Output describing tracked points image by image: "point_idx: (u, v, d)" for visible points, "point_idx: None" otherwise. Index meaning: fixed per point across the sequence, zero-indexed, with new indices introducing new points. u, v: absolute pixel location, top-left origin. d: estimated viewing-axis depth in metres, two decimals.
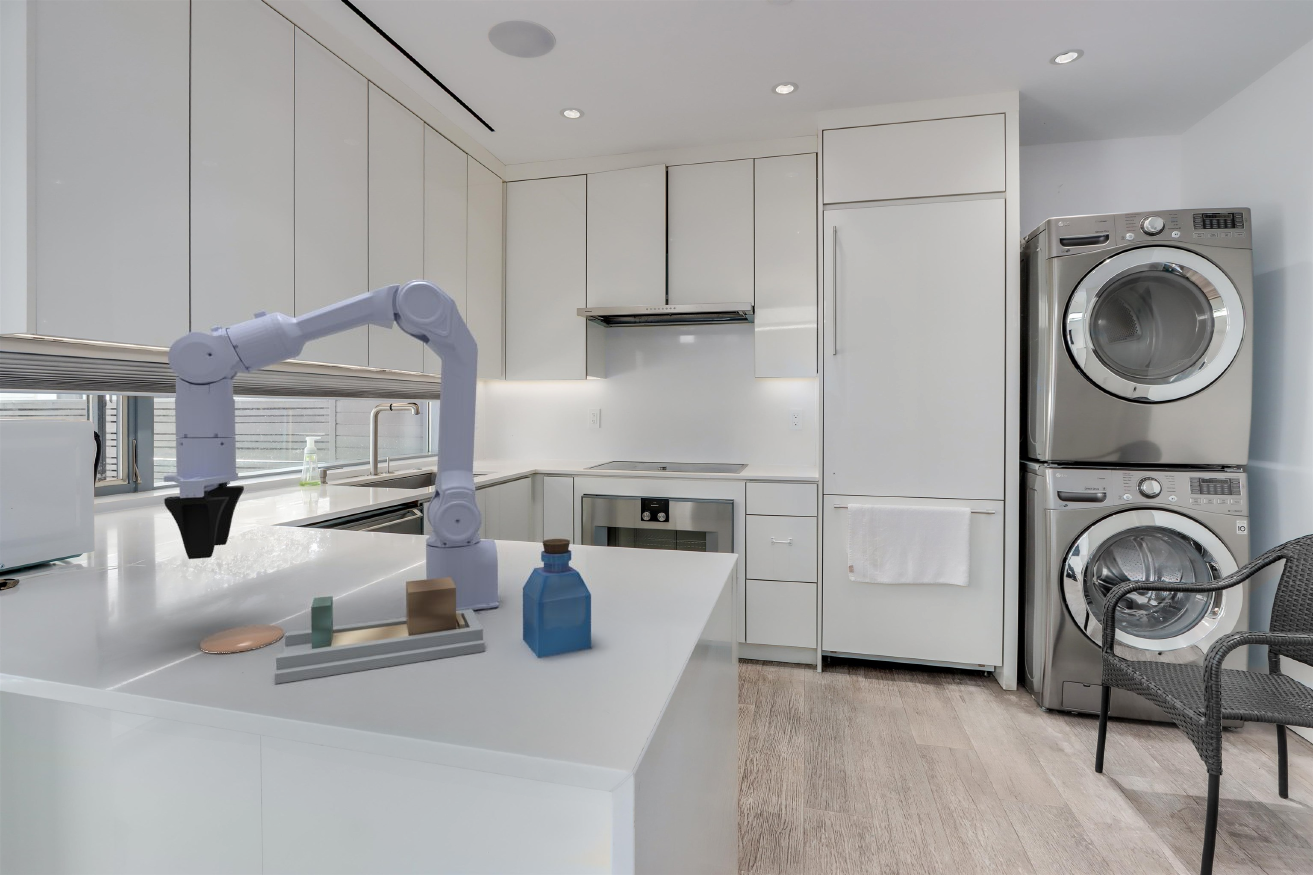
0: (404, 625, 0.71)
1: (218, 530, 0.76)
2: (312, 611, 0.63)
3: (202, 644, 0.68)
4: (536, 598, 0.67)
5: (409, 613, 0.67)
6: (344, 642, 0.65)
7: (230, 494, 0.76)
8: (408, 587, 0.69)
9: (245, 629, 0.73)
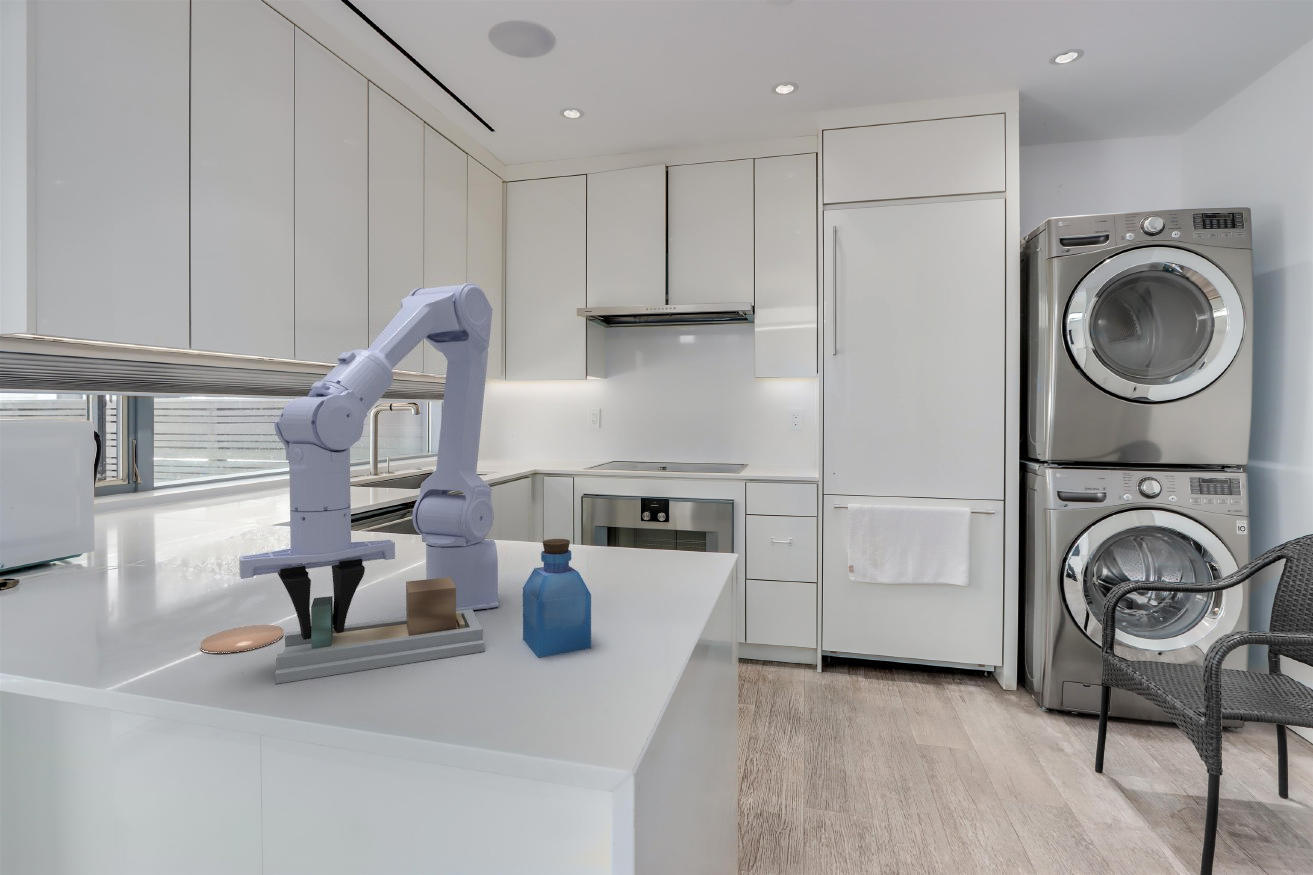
0: (404, 625, 0.71)
1: (336, 614, 0.66)
2: (312, 611, 0.63)
3: (202, 644, 0.68)
4: (536, 598, 0.67)
5: (409, 613, 0.67)
6: (344, 642, 0.65)
7: None
8: (408, 587, 0.69)
9: (245, 629, 0.73)
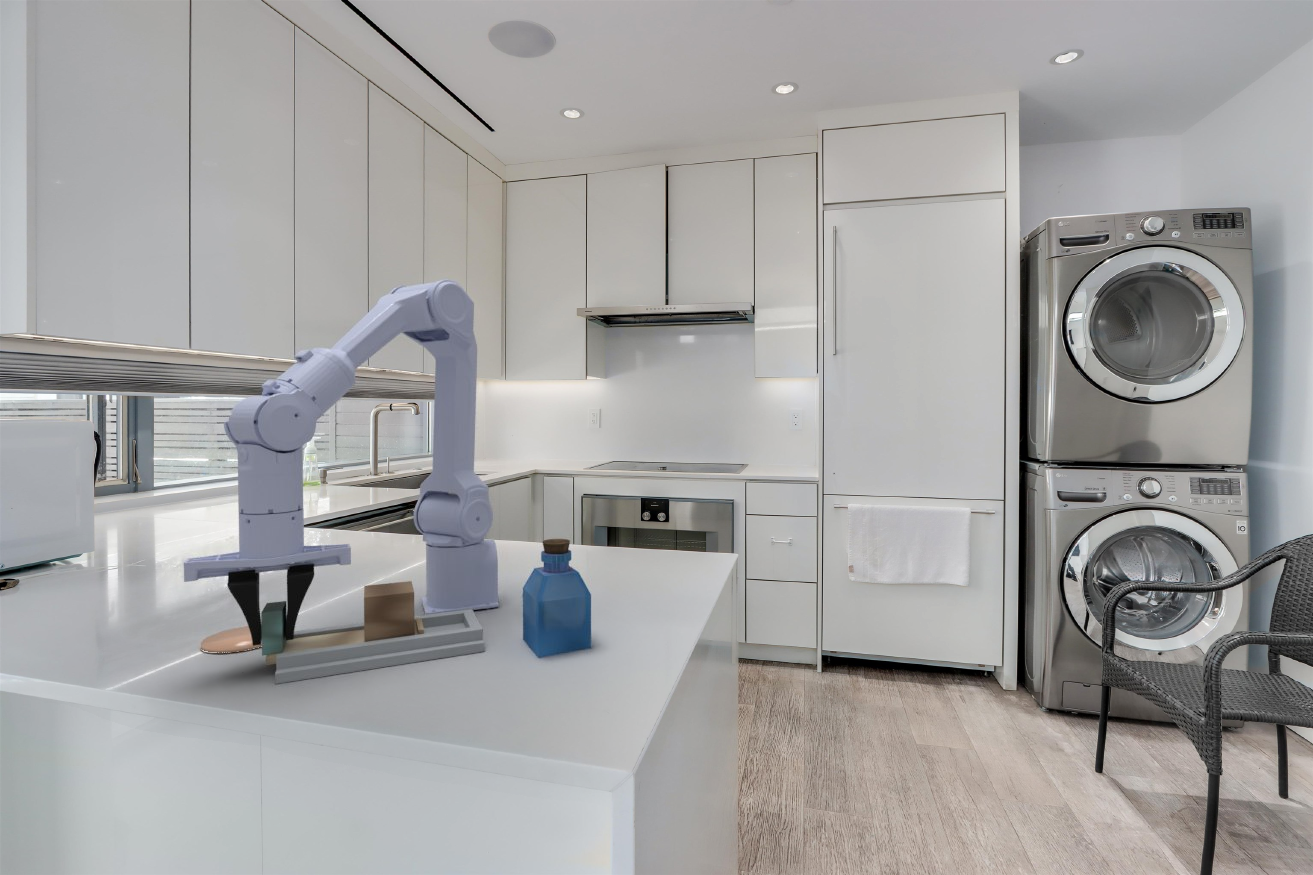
0: (362, 630, 0.69)
1: (286, 621, 0.64)
2: (262, 617, 0.62)
3: (202, 644, 0.68)
4: (536, 598, 0.67)
5: (365, 618, 0.65)
6: (297, 648, 0.63)
7: None
8: (365, 592, 0.67)
9: (245, 629, 0.73)
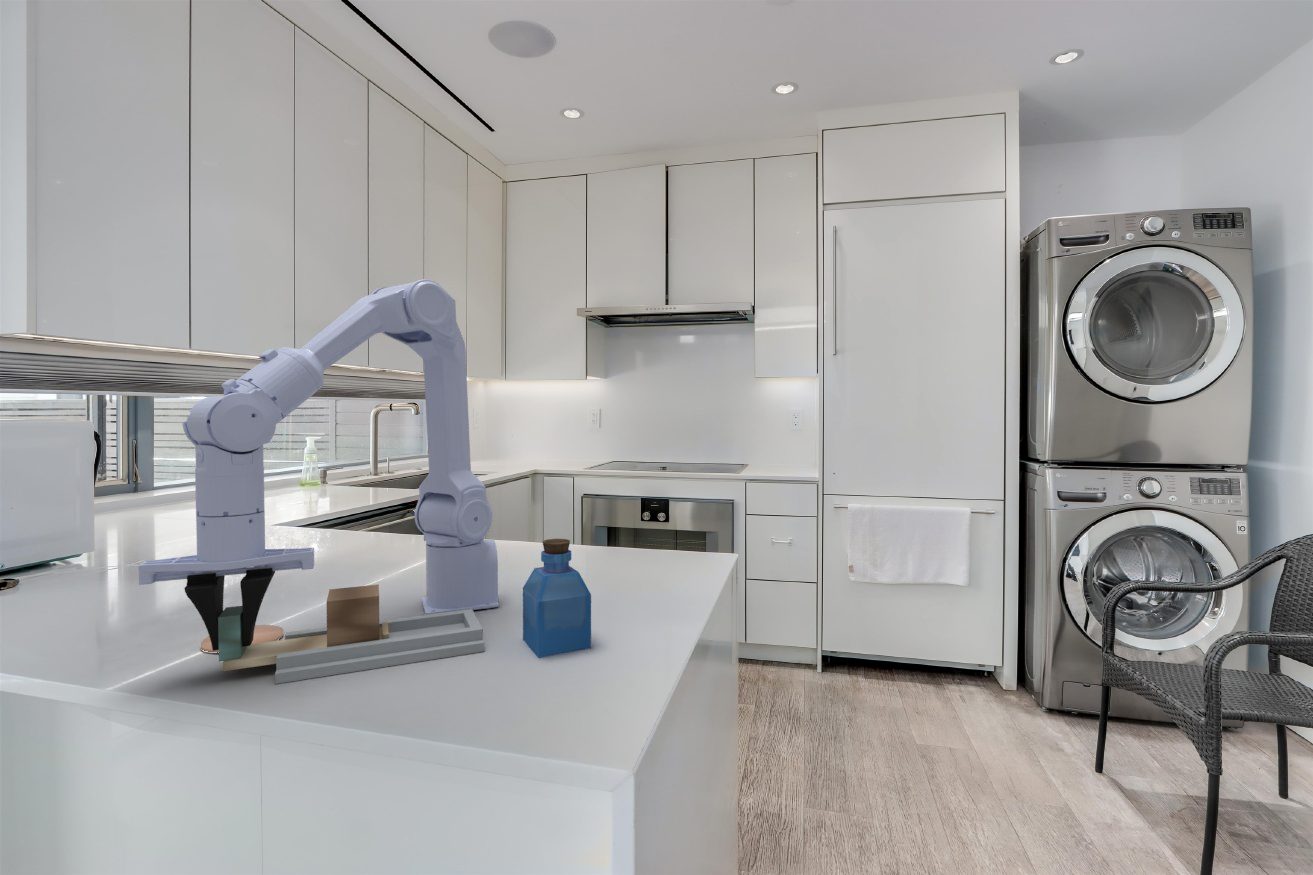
0: (326, 635, 0.67)
1: None
2: (219, 622, 0.60)
3: (202, 644, 0.68)
4: (536, 598, 0.67)
5: (327, 623, 0.64)
6: (256, 654, 0.62)
7: None
8: (329, 595, 0.65)
9: None
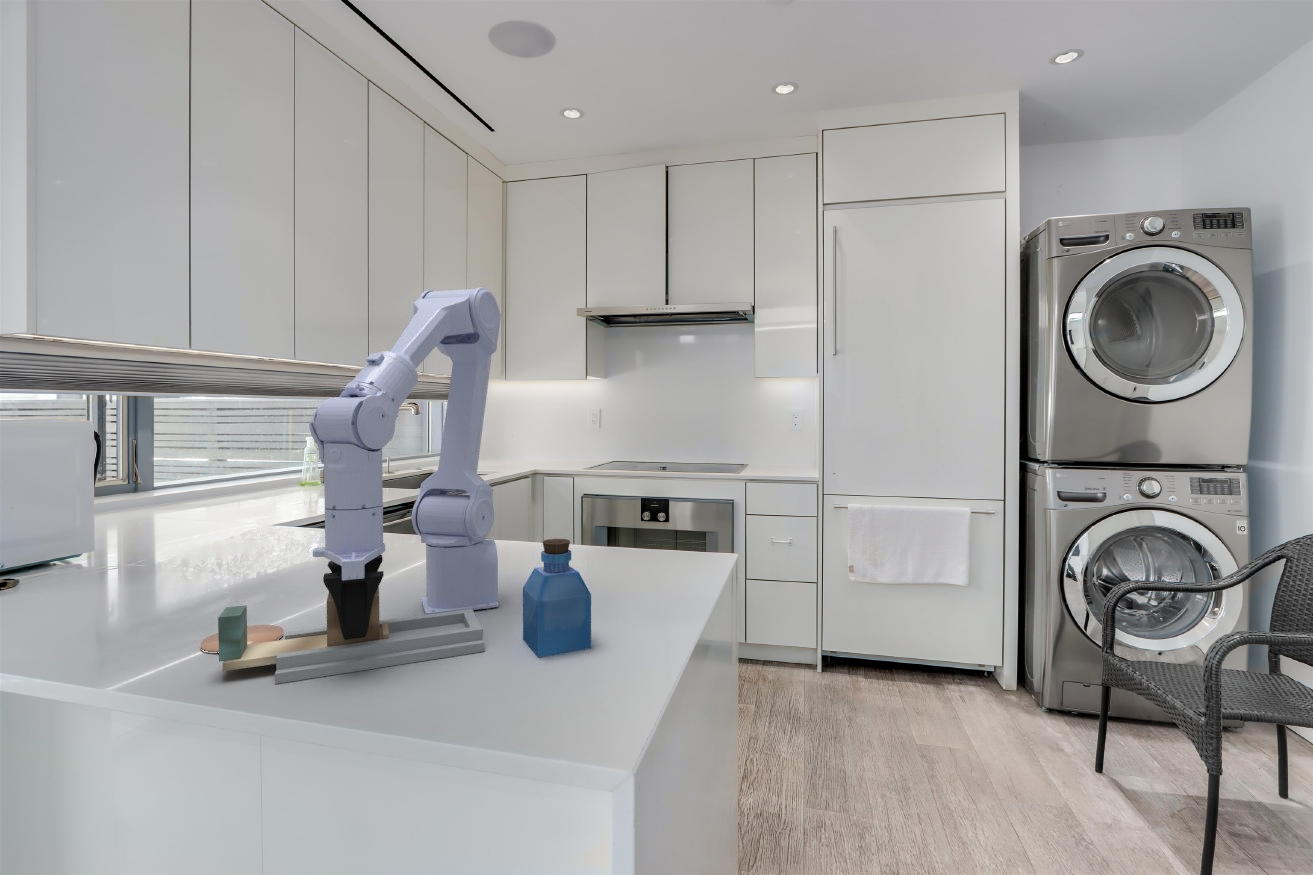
0: (326, 635, 0.67)
1: None
2: (219, 622, 0.60)
3: (202, 644, 0.68)
4: (537, 598, 0.67)
5: (327, 623, 0.64)
6: (256, 654, 0.62)
7: (371, 566, 0.70)
8: (329, 595, 0.65)
9: None
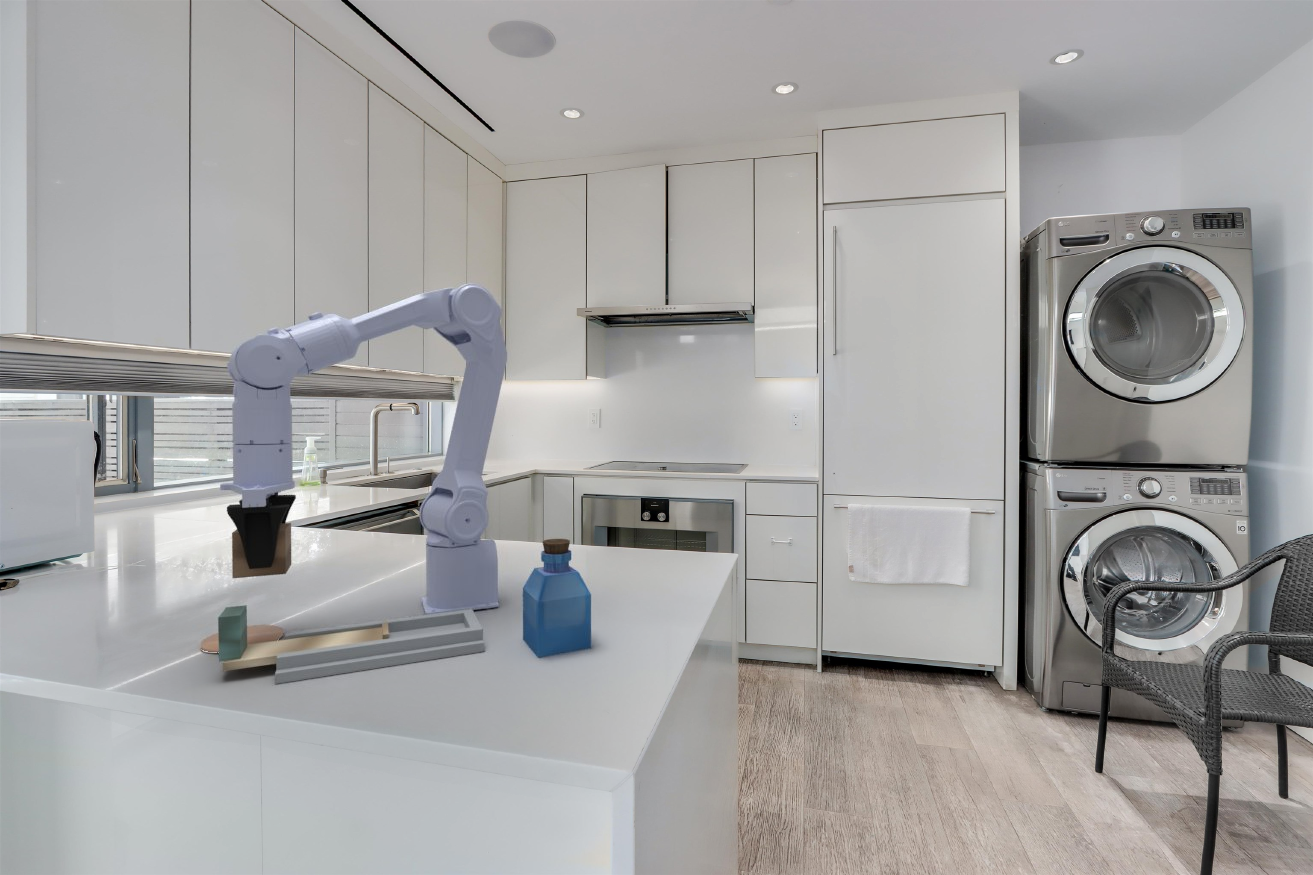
0: (326, 635, 0.67)
1: None
2: (219, 622, 0.60)
3: (202, 644, 0.68)
4: (536, 598, 0.67)
5: (233, 554, 0.66)
6: (256, 654, 0.62)
7: (283, 504, 0.73)
8: None
9: None
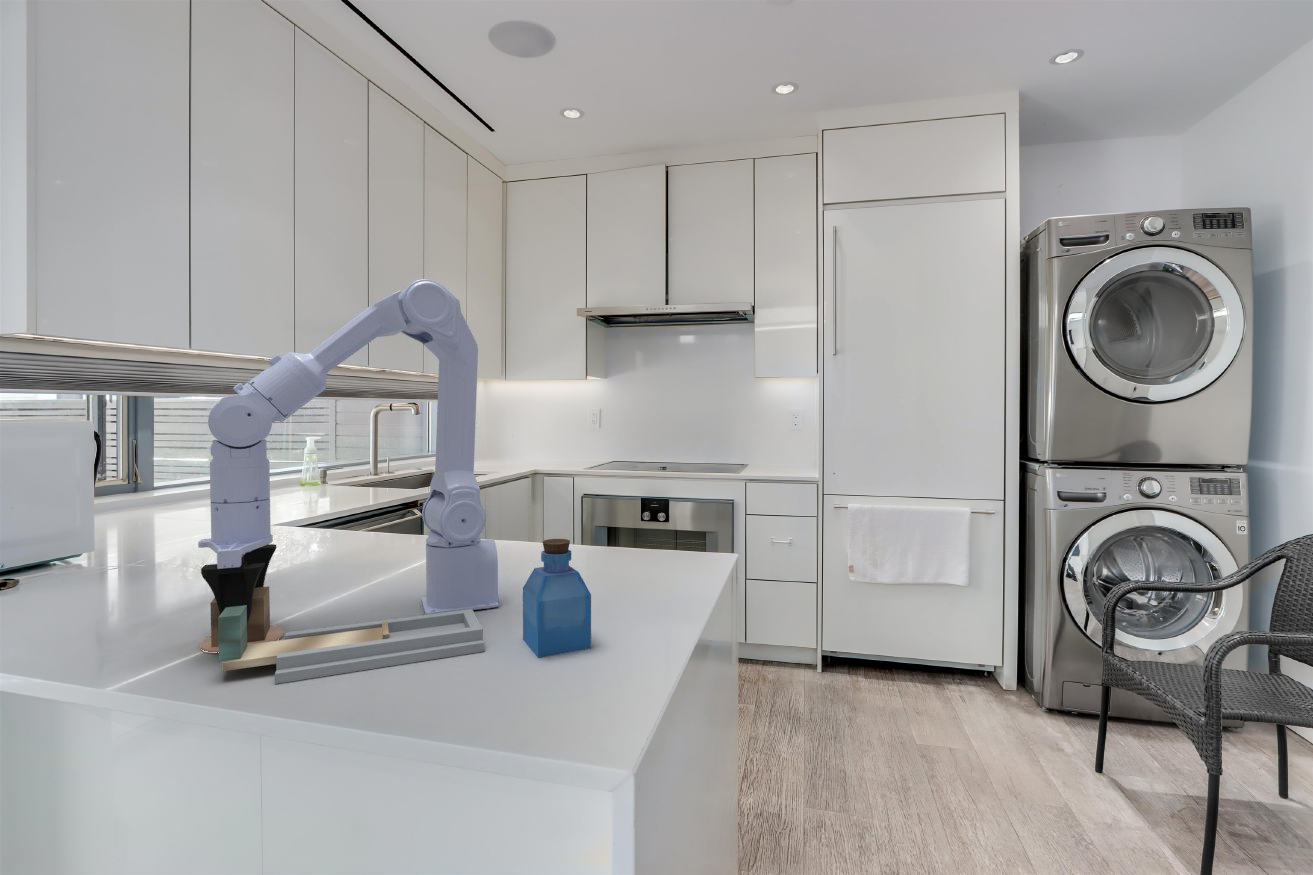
0: (326, 635, 0.67)
1: None
2: (219, 622, 0.60)
3: (202, 644, 0.68)
4: (536, 598, 0.67)
5: (212, 623, 0.67)
6: (256, 654, 0.62)
7: (263, 555, 0.75)
8: None
9: None
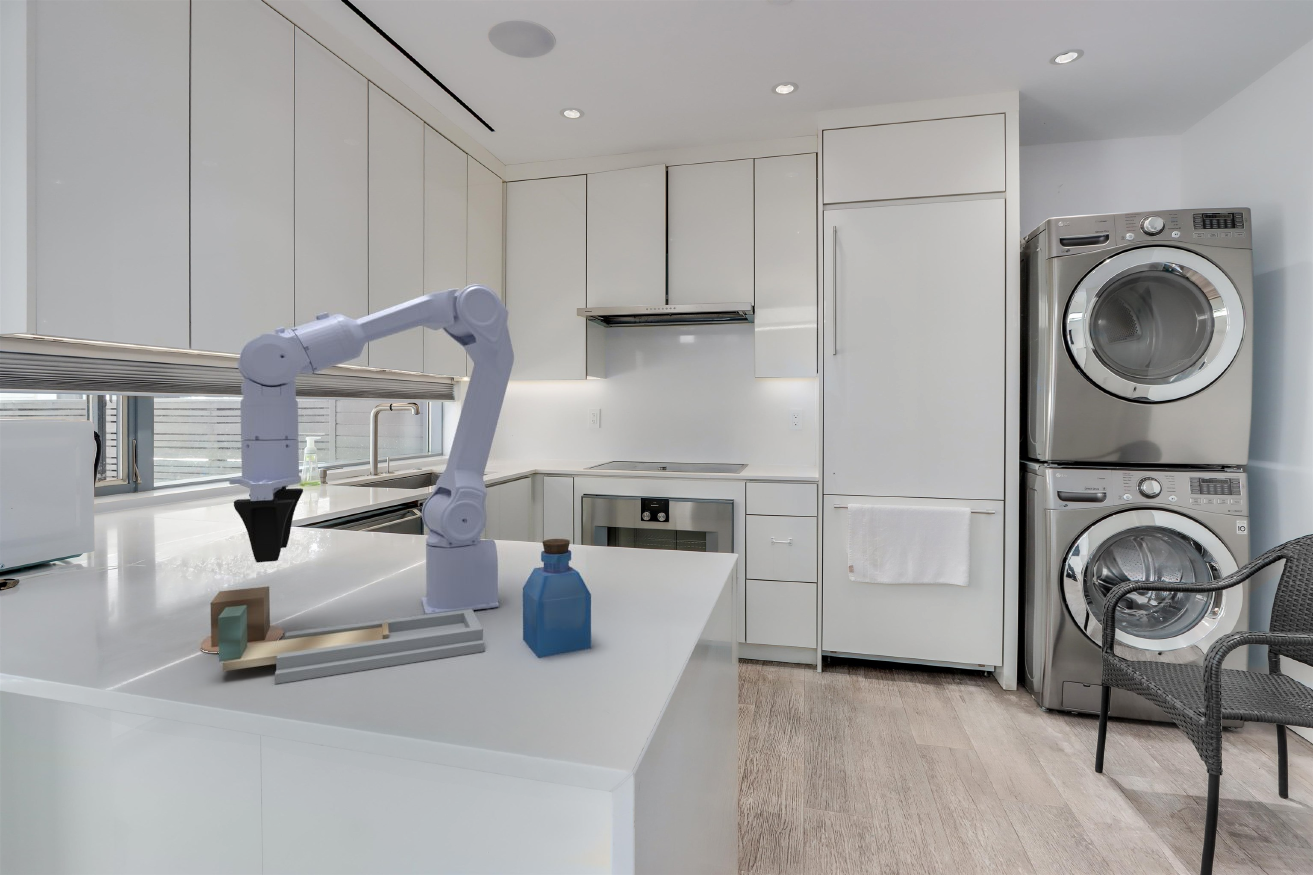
0: (326, 635, 0.67)
1: None
2: (219, 622, 0.60)
3: (202, 644, 0.68)
4: (536, 598, 0.67)
5: (212, 623, 0.67)
6: (256, 654, 0.62)
7: (290, 497, 0.76)
8: (215, 597, 0.69)
9: None
